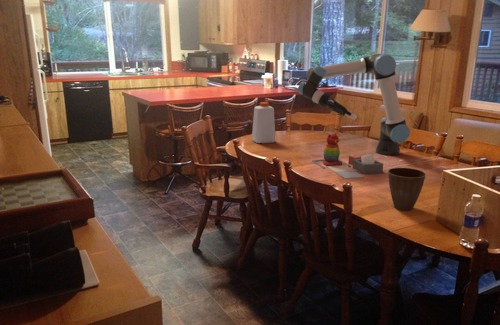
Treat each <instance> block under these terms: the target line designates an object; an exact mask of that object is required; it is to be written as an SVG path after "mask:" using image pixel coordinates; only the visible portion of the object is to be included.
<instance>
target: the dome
mask: <svg viewBox="0 0 500 325" xmlns="http://www.w3.org/2000/svg"><path fill="white" fill-rule="evenodd" d="M361 159H362V161H361V163H363V164H374V162H375V160H376V159H375V158H374V156H373V155H372V154H370V153H366V154H364V155H363V157H361Z"/></svg>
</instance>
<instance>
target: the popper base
mask: <svg viewBox="0 0 500 325" xmlns="http://www.w3.org/2000/svg"><path fill="white" fill-rule="evenodd" d="M374 160H375V162H374V164H363V163H361V161H362V158H361V159H355V160H353V165H352V166H351V167H352V168H351V169H352V170H354V171H356V172H357V173H358V172H359V174H361V175H369V174H383V171H384V163H382V162H380V161H378V160H377V159H374Z"/></svg>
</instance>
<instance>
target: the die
mask: <svg viewBox="0 0 500 325" xmlns="http://www.w3.org/2000/svg"><path fill="white" fill-rule="evenodd" d="M355 159H362V156H361V155H360V156H359V155H357V154H351V155H348V163H347V164H349V165H350V166H353V160H355Z"/></svg>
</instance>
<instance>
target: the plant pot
mask: <svg viewBox="0 0 500 325" xmlns="http://www.w3.org/2000/svg"><path fill="white" fill-rule="evenodd" d="M387 172H388V174H387V175H388V184H389V189H390V190H389V191H390V195H391V199H392V204H393V206H394V208H395V209H396V210H399V211H406V212H408V211H412V210H413V209H414V207H415V206H416V203H417V201H418V199H419V196H420V194H421V192H422V189H423V187H424V183H425V179H426V176H427V174H426V173H425V172H424V171H422V170H420V169H415V168H412V167H411V168H410V167H394V168H389V169H388V171H387Z"/></svg>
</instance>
